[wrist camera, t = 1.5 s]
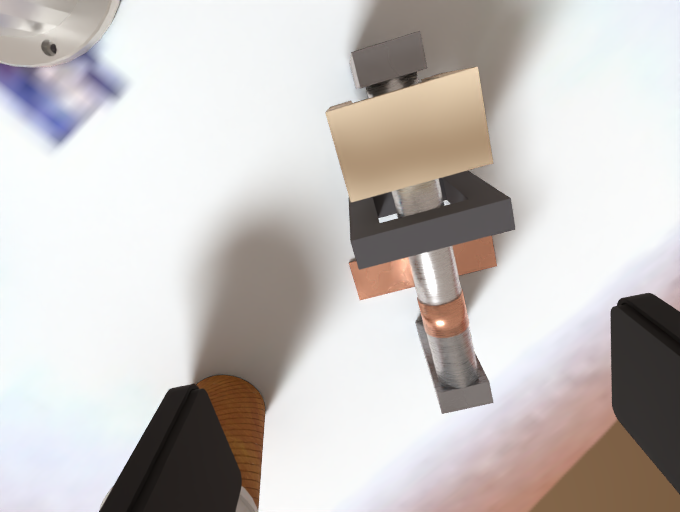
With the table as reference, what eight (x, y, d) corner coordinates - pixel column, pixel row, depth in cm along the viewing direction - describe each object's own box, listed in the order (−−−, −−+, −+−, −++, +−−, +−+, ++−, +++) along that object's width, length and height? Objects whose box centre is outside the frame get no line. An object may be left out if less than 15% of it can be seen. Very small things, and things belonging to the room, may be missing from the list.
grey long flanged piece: (294, 80, 27) (274, 76, 19) (455, 30, 26) (503, 4, 18) (375, 349, 34) (384, 427, 26) (505, 318, 33) (555, 389, 25)
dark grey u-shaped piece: (348, 196, 29) (350, 241, 20) (460, 165, 28) (510, 198, 19) (354, 217, 29) (358, 269, 21) (464, 188, 28) (515, 229, 20)
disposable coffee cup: (302, 434, 37) (283, 586, 25) (200, 463, 38) (139, 620, 27) (256, 342, 33) (212, 469, 22) (146, 377, 35) (52, 513, 24)
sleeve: (330, 106, 25) (325, 112, 18) (442, 72, 24) (477, 66, 18) (349, 175, 26) (350, 202, 20) (456, 145, 25) (493, 163, 19)
